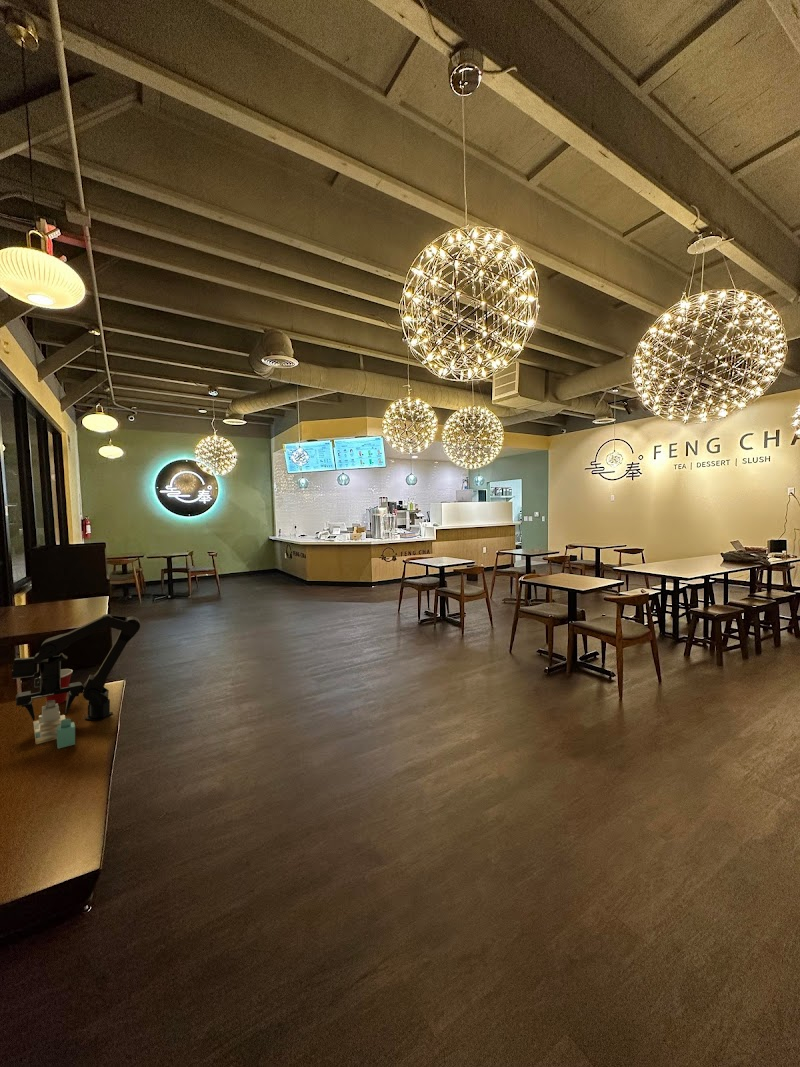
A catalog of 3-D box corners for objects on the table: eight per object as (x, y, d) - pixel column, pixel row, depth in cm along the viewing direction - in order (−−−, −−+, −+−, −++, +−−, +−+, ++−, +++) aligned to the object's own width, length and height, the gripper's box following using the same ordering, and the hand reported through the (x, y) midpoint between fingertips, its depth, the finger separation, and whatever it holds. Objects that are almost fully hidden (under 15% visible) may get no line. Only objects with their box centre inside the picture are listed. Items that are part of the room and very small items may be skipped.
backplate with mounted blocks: (64, 716, 164) (64, 709, 164) (69, 735, 150) (69, 728, 150) (33, 723, 158) (33, 716, 158) (35, 744, 144) (35, 736, 144)
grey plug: (57, 719, 160) (57, 697, 160) (58, 723, 157) (59, 701, 156) (41, 722, 157) (42, 701, 157) (42, 727, 154) (43, 705, 153)
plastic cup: (39, 700, 177) (39, 671, 177) (72, 694, 184) (72, 666, 183) (37, 710, 169) (37, 679, 168) (72, 703, 175) (72, 674, 175)
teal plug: (73, 739, 148) (73, 716, 148) (74, 744, 145) (75, 720, 144) (56, 743, 145) (56, 719, 145) (57, 748, 142) (58, 724, 141)
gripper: (79, 662, 168) (79, 702, 169) (15, 673, 156) (15, 715, 156) (83, 670, 160) (83, 712, 161) (16, 682, 148) (16, 727, 148)
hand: (50, 716), depth 157 cm, fingers open, 9 cm apart
